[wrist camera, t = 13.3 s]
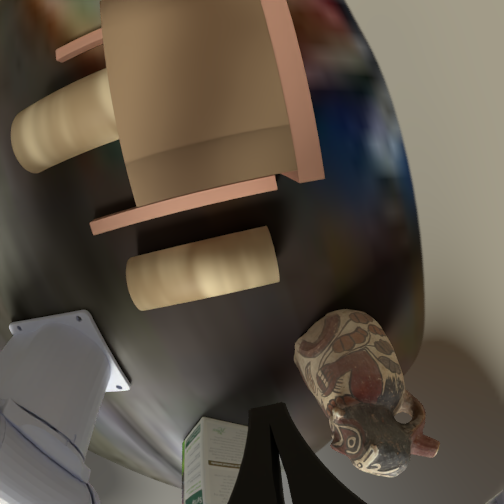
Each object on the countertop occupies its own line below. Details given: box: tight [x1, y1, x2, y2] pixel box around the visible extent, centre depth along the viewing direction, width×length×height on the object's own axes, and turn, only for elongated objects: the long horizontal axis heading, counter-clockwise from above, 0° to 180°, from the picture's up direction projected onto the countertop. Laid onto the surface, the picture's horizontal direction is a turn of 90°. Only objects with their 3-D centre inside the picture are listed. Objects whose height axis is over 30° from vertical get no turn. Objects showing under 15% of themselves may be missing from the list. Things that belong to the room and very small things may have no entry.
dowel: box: [11, 68, 119, 173], centre depth 12 cm, size 12×4×4 cm, turn 101°
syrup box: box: [182, 417, 248, 504], centre depth 18 cm, size 6×6×14 cm
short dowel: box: [126, 226, 279, 311], centre depth 16 cm, size 8×3×3 cm
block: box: [100, 0, 298, 207], centre depth 11 cm, size 6×9×6 cm, turn 11°
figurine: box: [294, 309, 440, 477], centre depth 16 cm, size 7×7×12 cm
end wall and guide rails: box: [56, 0, 325, 235], centre depth 11 cm, size 12×12×6 cm
